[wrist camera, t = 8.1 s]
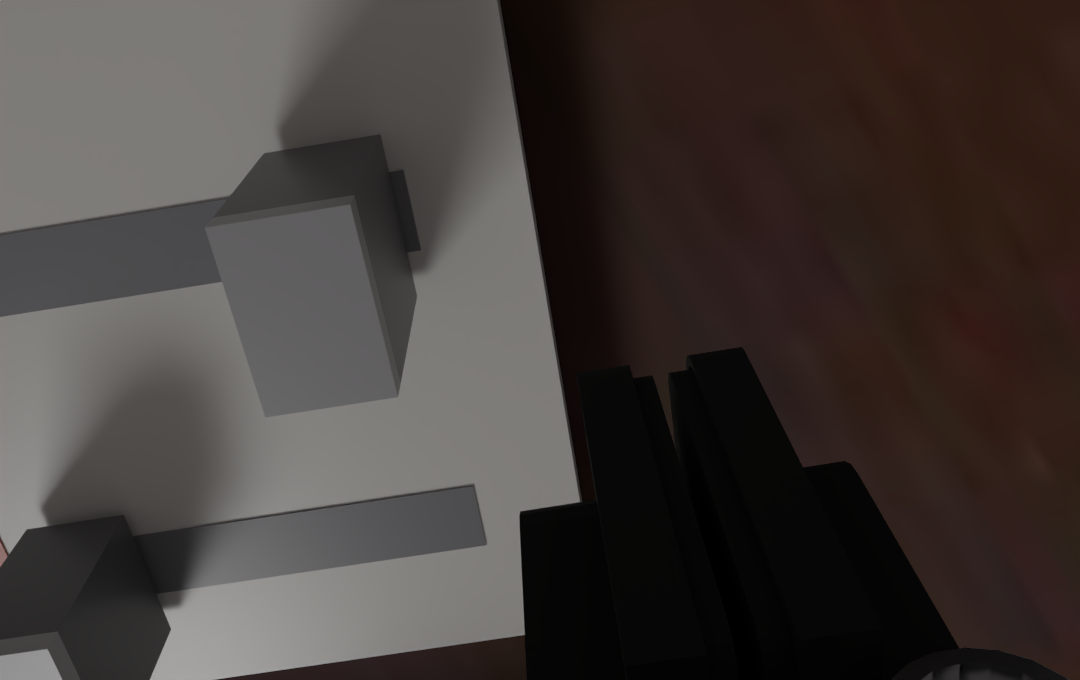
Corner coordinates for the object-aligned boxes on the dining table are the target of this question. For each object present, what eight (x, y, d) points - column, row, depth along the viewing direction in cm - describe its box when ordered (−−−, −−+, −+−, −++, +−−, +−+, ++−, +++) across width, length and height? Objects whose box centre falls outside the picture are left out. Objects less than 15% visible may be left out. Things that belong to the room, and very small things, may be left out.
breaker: (123, 514, 24) (47, 648, 20) (171, 629, 26) (109, 775, 22) (26, 529, 24) (-70, 666, 20) (79, 642, 26) (0, 790, 22)
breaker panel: (421, -477, 18) (410, -524, 16) (592, 563, 29) (600, 625, 26) (-417, -323, 19) (-544, -347, 17) (50, 643, 29) (12, 709, 27)
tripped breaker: (380, 134, 20) (350, 204, 16) (417, 296, 22) (398, 397, 18) (264, 153, 20) (204, 227, 16) (308, 312, 22) (265, 417, 18)
